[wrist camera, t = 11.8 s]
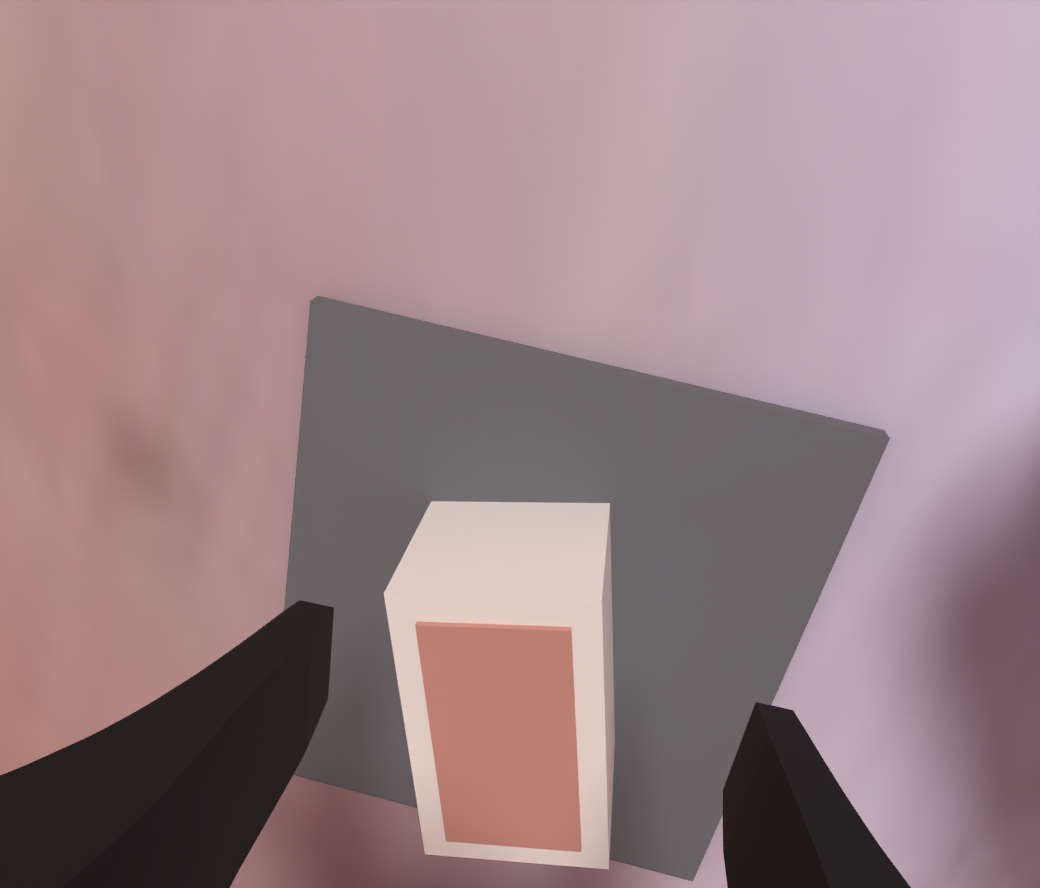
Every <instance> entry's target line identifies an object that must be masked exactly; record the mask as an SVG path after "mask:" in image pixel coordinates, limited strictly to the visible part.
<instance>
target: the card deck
mask: <svg viewBox="0 0 1040 888" xmlns="http://www.w3.org/2000/svg"><path fill="white" fill-rule="evenodd" d="M384 599H385V605H386V611H387V618H388V624H389V630H390V637H391V643H392V649H393V655H394V662H395V668H396V674H397V681H398V687H399V693H400V700H401V706H402V712H403V718H404V725H405V731H406V737H407V744H408V750H409V756H410V763H411V769H412V775H413V782H414V788H415V794H416V800H417V807H418V813H419V819H420V826H421V832H422V838H423V845H424V851H425V854H427V855H440V856H452V857H464V858H476V859H488V860H500V861H512V862H525V863H537V864H549V865H561V866H573V867H585V868H597V869H609V861H610V839H611V817H612V795H613V773H614V751H615V722H614V674H613V626H612V578H611V530H610V503H545V502H453V501H431V503H430V505H429V506H428V508H427V510H426V512H425V514H424V516H423V518H422V520H421V522H420V524H419V526H418V528H417V530H416V532H415V534H414V536H413V538H412V540H411V541H410V543H409V545H408V547H407V549H406V551H405V553H404V555H403V557H402V559H401V561H400V563H399V565H398V567H397V569H396V571H395V573H394V574H393V576H392V578H391V580H390V582H389V584H388V586H387V588H386V590H385V592H384Z"/></svg>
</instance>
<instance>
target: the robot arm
mask: <svg viewBox="0 0 1040 888" xmlns="http://www.w3.org/2000/svg"><path fill="white" fill-rule="evenodd" d="M333 617H334V607H329V606H325V605H320V604H316V603H311V602H307V601H302V600H299V601H298V602H296V603H294V604H293V605H291V606H290V607H289V608H287V609H286V610H285V611H283V612H282V613H281V614H279V615H278V616H277V617H275V618H274V619H273V620H271V621H270V622H269V623H267V624H266V625H265V626H263V627H262V628H261V629H259V630H258V631H257V632H255V633H254V634H253V635H251V636H250V637H249V638H247V639H246V640H244V641H243V642H242V643H240V644H239V645H238V646H236V647H235V648H233V649H232V650H231V651H229V652H228V653H226V654H225V655H223V656H222V657H221V658H219V659H218V660H216V661H215V662H213V663H212V664H211V665H209V666H208V667H206V668H205V669H203V670H202V671H200V672H199V673H197V674H196V675H194V676H193V677H191V678H190V679H188V680H186V681H185V682H183V683H182V684H180V685H179V686H177V687H175V688H174V689H172V690H171V691H169V692H167V693H166V694H164V695H163V696H161V697H160V698H158V699H156V700H155V701H153V702H151V703H150V704H148V705H146V706H145V707H143V708H141V709H139V710H138V711H136V712H134V713H132V714H131V715H129V716H127V717H125V718H123V719H122V720H120V721H118V722H116V723H114V724H112V725H110V726H109V727H107V728H105V729H103V730H101V731H99V732H97V733H95V734H93V735H91V736H89V737H87V738H85V739H83V740H81V741H79V742H76V743H74V744H72V745H70V746H67V747H65V748H63V749H61V750H59V751H56V752H54V753H52V754H50V755H48V756H45V757H43V758H41V759H39V760H36V761H34V762H32V763H30V764H28V765H25V766H23V767H20V768H18V769H16V770H13V771H11V772H8V773H6V774H3V775H0V888H230V886H231V884H232V882H233V880H234V878H235V876H236V874H237V872H238V871H239V869H240V867H241V865H242V864H243V862H244V860H245V858H246V857H247V855H248V853H249V851H250V850H251V848H252V846H253V844H254V843H255V841H256V839H257V837H258V836H259V834H260V832H261V830H262V829H263V827H264V825H265V823H266V822H267V820H268V818H269V816H270V815H271V813H272V811H273V809H274V808H275V806H276V804H277V802H278V801H279V799H280V797H281V795H282V794H283V792H284V790H285V788H286V786H287V785H288V783H289V781H290V779H291V778H292V776H293V774H294V772H295V770H296V769H297V767H298V765H299V763H300V762H301V760H302V758H303V756H304V754H305V752H306V750H307V748H308V745H309V743H310V741H311V739H312V736H313V734H314V732H315V729H316V727H317V724H318V722H319V720H320V717H321V715H322V712H323V710H324V707H325V705H326V702H327V700H328V693H329V678H330V663H331V647H332V632H333ZM723 852H724V860H725V869H726V877H727V884H728V888H911V887H910V886H909V885H908V884H907V882H906V881H905V879H904V878H903V877H902V875H901V874H900V873H899V871H898V870H897V869H896V867H895V866H894V865H893V863H892V862H891V861H890V859H889V858H888V857H887V855H886V854H885V852H884V851H883V850H882V848H881V847H880V846H879V844H878V843H877V841H876V840H875V838H874V837H873V836H872V834H871V833H870V831H869V830H868V828H867V827H866V825H865V824H864V822H863V821H862V819H861V818H860V816H859V815H858V813H857V812H856V810H855V809H854V807H853V806H852V804H851V803H850V801H849V800H848V798H847V797H846V795H845V793H844V792H843V790H842V789H841V787H840V786H839V784H838V782H837V781H836V779H835V778H834V776H833V774H832V773H831V771H830V770H829V768H828V766H827V765H826V763H825V762H824V760H823V758H822V757H821V755H820V753H819V752H818V750H817V748H816V747H815V745H814V744H813V742H812V740H811V739H810V737H809V735H808V734H807V732H806V730H805V729H804V727H803V726H802V724H801V722H800V721H799V719H798V718H797V716H796V714H795V713H794V711H793V710H789V709H785V708H780V707H776V706H771V705H767V704H762V703H758V702H756V703H755V705H754V708H753V711H752V713H751V716H750V719H749V721H748V724H747V727H746V729H745V732H744V735H743V737H742V740H741V743H740V745H739V748H738V751H737V753H736V756H735V759H734V761H733V764H732V767H731V770H730V772H729V775H728V778H727V780H726V783H725V786H724V788H723Z"/></svg>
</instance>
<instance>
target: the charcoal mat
mask: <svg viewBox="0 0 1040 888" xmlns="http://www.w3.org/2000/svg"><path fill="white" fill-rule="evenodd" d="M889 439H890V438H889V437H888V435H887V434H886V432H885V431H884V430H880V429H876V428H872V427H867V426H863V425H859V424H855V423H850V422H846V421H842V420H838V419H834V418H829V417H825V416H821V415H817V414H813V413H808V412H804V411H800V410H796V409H791V408H787V407H783V406H779V405H775V404H770V403H766V402H762V401H758V400H754V399H749V398H745V397H741V396H737V395H732V394H728V393H724V392H720V391H716V390H711V389H707V388H703V387H699V386H695V385H690V384H686V383H682V382H678V381H673V380H669V379H665V378H661V377H657V376H652V375H648V374H644V373H640V372H636V371H631V370H627V369H623V368H619V367H614V366H610V365H606V364H602V363H598V362H593V361H589V360H585V359H581V358H577V357H572V356H568V355H564V354H560V353H555V352H551V351H547V350H543V349H539V348H534V347H530V346H526V345H522V344H518V343H513V342H509V341H505V340H501V339H496V338H492V337H488V336H484V335H480V334H475V333H471V332H467V331H463V330H459V329H454V328H450V327H446V326H442V325H437V324H433V323H429V322H425V321H421V320H416V319H412V318H408V317H404V316H400V315H395V314H391V313H387V312H383V311H378V310H374V309H370V308H366V307H362V306H357V305H353V304H349V303H345V302H341V301H336V300H332V299H328V298H324V297H320V296H317V297H315V298H314V299H312V300H311V301H310V312H309V324H308V336H307V348H306V360H305V371H304V383H303V395H302V407H301V419H300V430H299V442H298V454H297V466H296V478H295V490H294V501H293V513H292V525H291V537H290V549H289V560H288V572H287V584H286V596H285V608H284V611H285V610H286V609H287V608H289V607H290V606H291V605H293V604H294V603H296V602H298V601H299V600H302V601H307V602H311V603H316V604H320V605H325V606H329V607H334V617H333V632H332V647H331V663H330V678H329V693H328V700H327V702H326V705H325V707H324V710H323V712H322V715H321V717H320V720H319V722H318V724H317V727H316V729H315V732H314V734H313V736H312V739H311V741H310V743H309V745H308V748H307V750H306V752H305V754H304V756H303V758H302V760H301V762H300V763H299V765H298V767H297V769H296V770H295V772H294V774H293V775H296V776H300V777H304V778H308V779H311V780H315V781H319V782H323V783H326V784H330V785H334V786H338V787H341V788H345V789H349V790H353V791H356V792H360V793H364V794H368V795H371V796H375V797H379V798H383V799H386V800H390V801H394V802H398V803H401V804H405V805H409V806H413V807H416V808H418V807H417V800H416V794H415V788H414V782H413V775H412V769H411V763H410V756H409V750H408V744H407V737H406V731H405V725H404V718H403V712H402V706H401V700H400V693H399V687H398V681H397V674H396V668H395V662H394V655H393V649H392V643H391V637H390V630H389V624H388V618H387V611H386V605H385V599H384V592H385V590H386V588H387V586H388V584H389V582H390V580H391V578H392V576H393V574H394V573H395V571H396V569H397V567H398V565H399V563H400V561H401V559H402V557H403V555H404V553H405V551H406V549H407V547H408V545H409V543H410V541H411V540H412V538H413V536H414V534H415V532H416V530H417V528H418V526H419V524H420V522H421V520H422V518H423V516H424V514H425V512H426V510H427V508H428V506H429V505H430V503H431V501H453V502H545V503H610V530H611V578H612V626H613V674H614V722H615V751H614V773H613V795H612V817H611V839H610V859H611V860H615V861H619V862H622V863H626V864H630V865H634V866H637V867H641V868H645V869H649V870H652V871H656V872H660V873H664V874H667V875H671V876H675V877H679V878H682V879H686V880H690V881H693V880H694V877H695V875H696V873H697V871H698V868H699V866H700V864H701V862H702V859H703V857H704V855H705V853H706V850H707V848H708V846H709V844H710V841H711V839H712V837H713V835H714V832H715V830H716V828H717V826H718V823H719V821H720V819H721V817H722V814H723V788H724V786H725V783H726V780H727V778H728V775H729V772H730V770H731V767H732V764H733V761H734V759H735V756H736V753H737V751H738V748H739V745H740V743H741V740H742V737H743V735H744V732H745V729H746V727H747V724H748V721H749V719H750V716H751V713H752V711H753V708H754V705H755V703H756V702H758V703H762V704H767V705H771V704H772V702H773V700H774V697H775V695H776V693H777V691H778V689H779V686H780V684H781V682H782V680H783V677H784V675H785V673H786V671H787V668H788V666H789V664H790V662H791V659H792V657H793V655H794V653H795V650H796V648H797V646H798V644H799V641H800V639H801V637H802V635H803V632H804V630H805V628H806V626H807V623H808V621H809V619H810V617H811V614H812V612H813V610H814V608H815V605H816V603H817V601H818V599H819V596H820V594H821V592H822V590H823V587H824V585H825V583H826V581H827V578H828V576H829V574H830V572H831V569H832V567H833V565H834V563H835V560H836V558H837V556H838V554H839V551H840V549H841V547H842V545H843V542H844V540H845V538H846V536H847V533H848V531H849V529H850V527H851V524H852V522H853V520H854V518H855V515H856V513H857V511H858V509H859V506H860V504H861V502H862V500H863V497H864V495H865V493H866V491H867V488H868V486H869V484H870V482H871V479H872V477H873V475H874V473H875V470H876V468H877V466H878V464H879V461H880V459H881V457H882V455H883V452H884V450H885V448H886V446H887V443H888V441H889Z"/></svg>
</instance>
